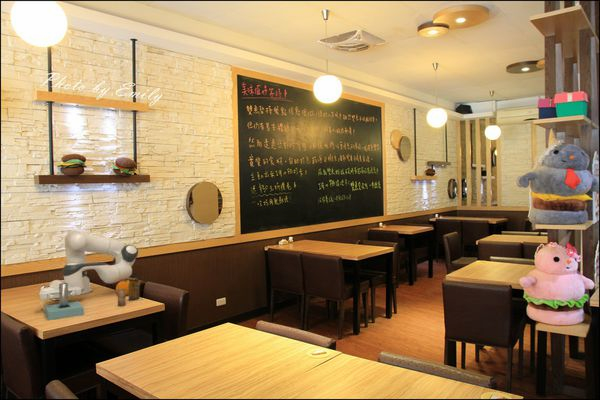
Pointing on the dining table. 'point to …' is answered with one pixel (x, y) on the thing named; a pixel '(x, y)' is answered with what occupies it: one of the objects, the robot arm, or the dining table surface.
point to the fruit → (123, 286)
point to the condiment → (133, 289)
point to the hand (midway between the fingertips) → (62, 295)
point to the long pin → (63, 295)
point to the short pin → (121, 297)
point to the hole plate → (63, 310)
